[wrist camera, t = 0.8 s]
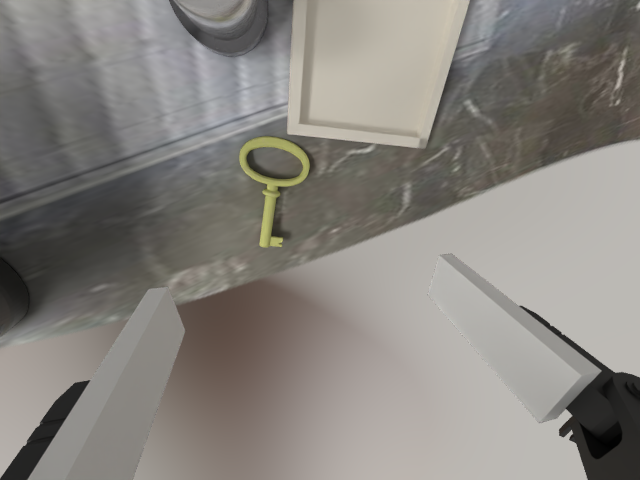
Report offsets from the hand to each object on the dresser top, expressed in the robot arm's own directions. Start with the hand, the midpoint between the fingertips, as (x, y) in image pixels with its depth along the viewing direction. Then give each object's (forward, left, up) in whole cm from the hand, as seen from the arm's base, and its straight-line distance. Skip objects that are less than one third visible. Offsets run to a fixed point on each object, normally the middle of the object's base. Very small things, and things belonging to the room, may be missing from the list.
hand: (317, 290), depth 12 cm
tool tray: (+7, +14, -18) cm, 24 cm away
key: (-2, -1, -18) cm, 18 cm away
